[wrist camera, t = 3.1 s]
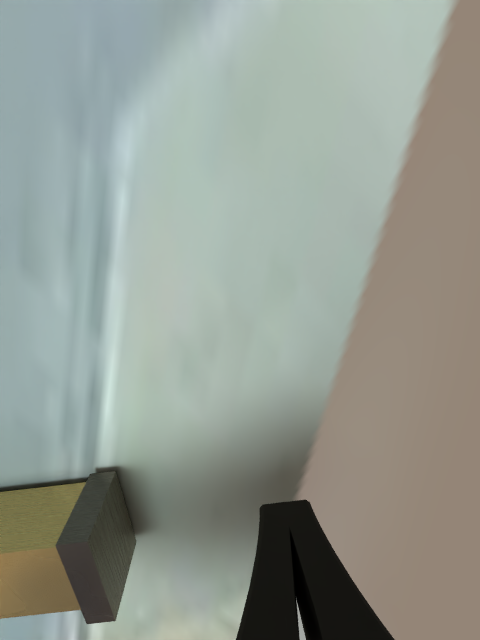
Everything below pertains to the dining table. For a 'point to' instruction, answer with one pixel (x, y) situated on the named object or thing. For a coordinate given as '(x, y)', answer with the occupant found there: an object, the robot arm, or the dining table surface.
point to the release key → (65, 549)
